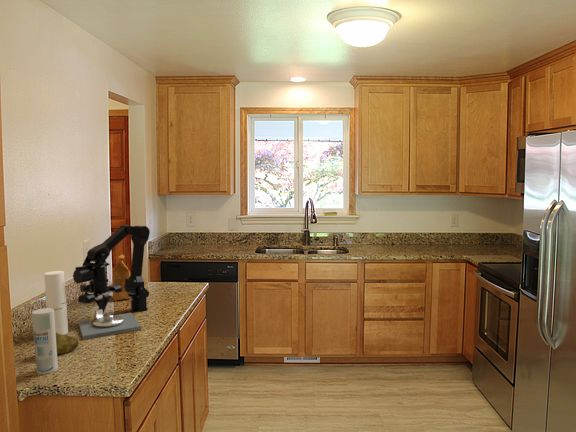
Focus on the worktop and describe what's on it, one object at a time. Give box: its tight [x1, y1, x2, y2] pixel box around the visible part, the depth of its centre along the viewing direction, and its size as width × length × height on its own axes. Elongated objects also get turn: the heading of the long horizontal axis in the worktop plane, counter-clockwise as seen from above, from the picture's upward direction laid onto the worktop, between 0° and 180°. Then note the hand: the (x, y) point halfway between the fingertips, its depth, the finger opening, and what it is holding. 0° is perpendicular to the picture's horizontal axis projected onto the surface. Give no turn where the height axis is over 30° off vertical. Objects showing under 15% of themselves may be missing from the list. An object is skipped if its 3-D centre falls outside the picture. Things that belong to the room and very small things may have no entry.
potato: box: [55, 332, 79, 355], centre depth 173 cm, size 8×13×8 cm, turn 104°
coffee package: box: [111, 253, 131, 302], centre depth 246 cm, size 10×12×22 cm
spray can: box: [31, 307, 59, 375], centre depth 157 cm, size 6×6×20 cm
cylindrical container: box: [43, 270, 69, 335], centre depth 193 cm, size 7×7×25 cm
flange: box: [90, 307, 124, 327], centre depth 201 cm, size 12×15×4 cm
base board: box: [77, 311, 142, 341], centre depth 200 cm, size 22×22×6 cm
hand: (102, 312), depth 207 cm, fingers closed
